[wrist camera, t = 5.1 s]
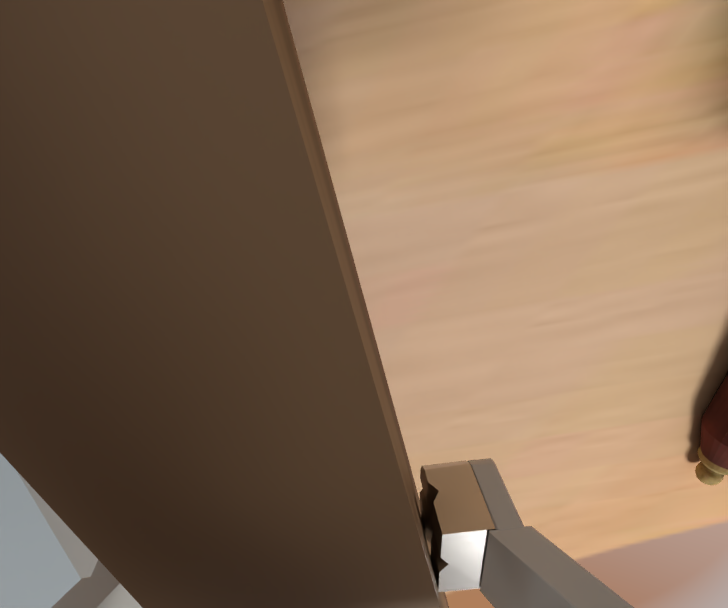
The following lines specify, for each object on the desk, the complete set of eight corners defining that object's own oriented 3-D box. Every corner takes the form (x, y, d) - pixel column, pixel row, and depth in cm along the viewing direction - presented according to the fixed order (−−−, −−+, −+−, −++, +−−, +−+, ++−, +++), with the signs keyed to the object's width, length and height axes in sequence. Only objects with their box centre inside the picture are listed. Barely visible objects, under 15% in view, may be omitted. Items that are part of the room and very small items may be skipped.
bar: (228, -195, 6) (10, -859, 2) (451, 617, 17) (500, 813, 12) (-47, -114, 6) (-914, -542, 2) (348, 641, 17) (360, 845, 12)
